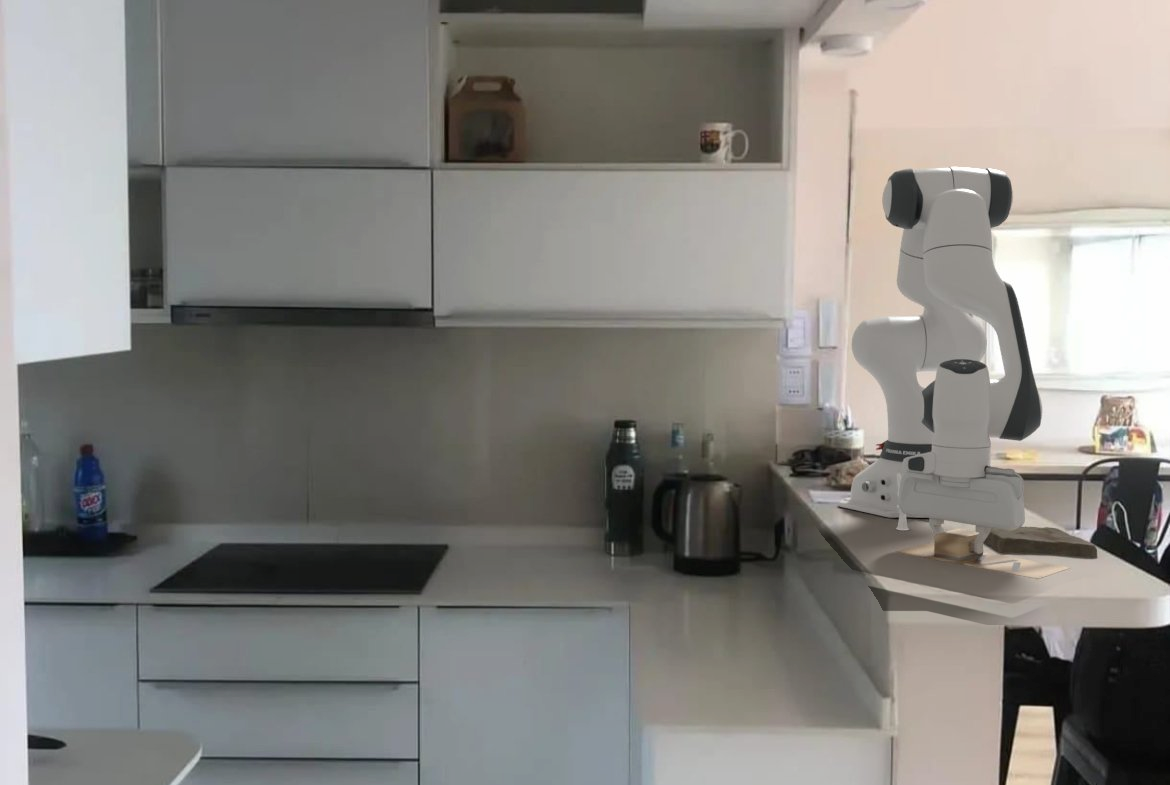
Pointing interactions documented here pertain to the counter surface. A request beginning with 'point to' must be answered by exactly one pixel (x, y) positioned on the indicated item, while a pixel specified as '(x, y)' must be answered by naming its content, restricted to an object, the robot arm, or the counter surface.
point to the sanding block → (954, 544)
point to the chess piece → (902, 520)
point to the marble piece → (1039, 542)
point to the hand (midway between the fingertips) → (958, 549)
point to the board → (992, 562)
